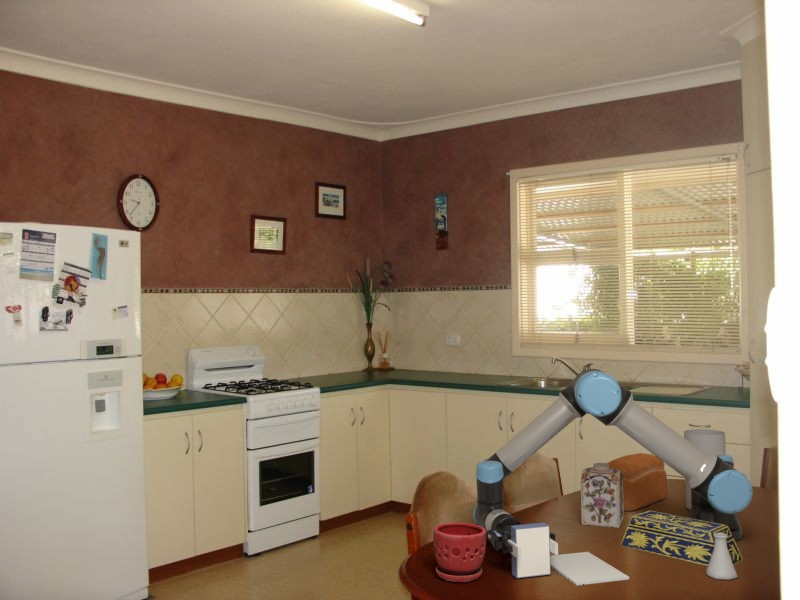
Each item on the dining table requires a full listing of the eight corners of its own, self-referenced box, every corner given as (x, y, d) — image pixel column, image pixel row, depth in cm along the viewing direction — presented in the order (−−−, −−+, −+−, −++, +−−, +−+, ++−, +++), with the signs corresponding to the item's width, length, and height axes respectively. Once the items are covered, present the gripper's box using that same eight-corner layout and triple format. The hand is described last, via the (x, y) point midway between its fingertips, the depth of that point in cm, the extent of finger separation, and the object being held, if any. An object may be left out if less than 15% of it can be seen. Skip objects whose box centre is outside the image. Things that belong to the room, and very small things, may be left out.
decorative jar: (580, 525, 237) (579, 466, 237) (586, 516, 248) (584, 459, 248) (621, 528, 233) (619, 468, 233) (625, 518, 243) (623, 461, 244)
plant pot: (472, 589, 184) (471, 538, 185) (424, 580, 191) (423, 531, 192) (495, 572, 196) (494, 525, 196) (449, 564, 202) (448, 518, 203)
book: (512, 574, 193) (510, 525, 193) (545, 570, 195) (544, 522, 195) (516, 578, 190) (515, 529, 190) (550, 574, 192) (549, 525, 192)
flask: (700, 571, 193) (699, 531, 193) (728, 570, 194) (727, 529, 194) (714, 581, 186) (713, 539, 186) (743, 580, 187) (742, 538, 187)
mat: (539, 559, 206) (539, 556, 206) (587, 553, 209) (587, 551, 209) (576, 585, 185) (576, 582, 185) (629, 579, 189) (629, 576, 189)
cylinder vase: (708, 503, 261) (705, 428, 261) (736, 511, 249) (733, 433, 249) (677, 507, 256) (675, 431, 257) (705, 516, 244) (702, 436, 245)
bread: (594, 506, 260) (593, 459, 260) (633, 492, 278) (632, 448, 279) (632, 513, 250) (631, 464, 250) (670, 498, 269) (669, 452, 269)
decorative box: (724, 571, 194) (723, 535, 194) (619, 546, 216) (618, 514, 217) (744, 561, 201) (743, 526, 201) (640, 538, 224) (639, 507, 224)
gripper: (541, 537, 213) (579, 562, 191) (465, 544, 208) (496, 571, 186) (540, 509, 213) (578, 531, 191) (465, 516, 208) (495, 539, 186)
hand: (538, 551), depth 188 cm, fingers closed on book, 9 cm apart
